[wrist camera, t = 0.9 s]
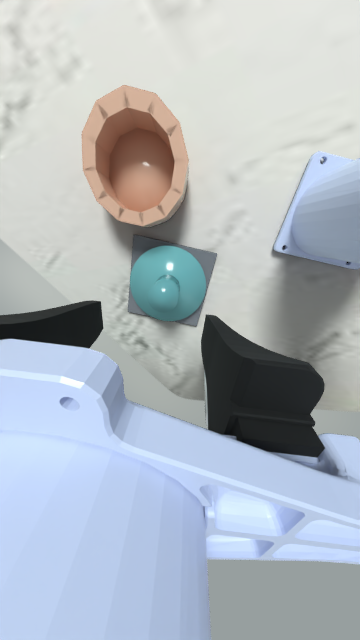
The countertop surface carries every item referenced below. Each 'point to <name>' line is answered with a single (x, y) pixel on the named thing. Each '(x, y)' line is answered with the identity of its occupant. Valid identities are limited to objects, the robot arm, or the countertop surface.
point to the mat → (202, 256)
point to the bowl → (135, 157)
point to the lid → (168, 283)
